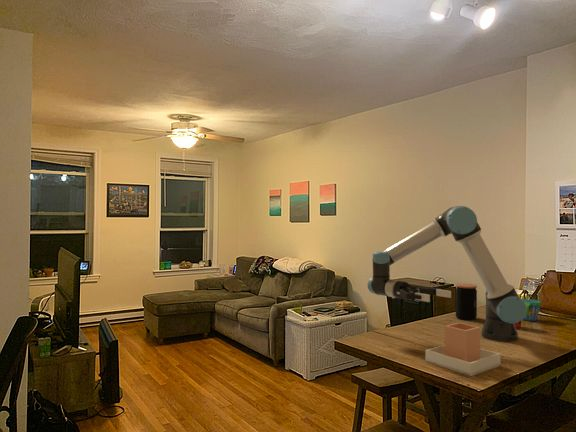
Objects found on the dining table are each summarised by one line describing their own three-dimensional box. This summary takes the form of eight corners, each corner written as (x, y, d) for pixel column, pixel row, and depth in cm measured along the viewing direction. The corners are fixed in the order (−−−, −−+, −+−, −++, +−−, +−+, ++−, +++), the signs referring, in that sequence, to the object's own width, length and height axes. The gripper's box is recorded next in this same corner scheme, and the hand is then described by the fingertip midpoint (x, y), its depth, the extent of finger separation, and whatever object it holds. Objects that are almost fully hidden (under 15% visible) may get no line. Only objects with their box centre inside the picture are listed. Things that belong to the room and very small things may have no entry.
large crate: (455, 352, 181) (455, 341, 181) (500, 365, 166) (500, 353, 166) (425, 361, 170) (425, 349, 170) (470, 376, 155) (470, 363, 155)
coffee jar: (478, 321, 235) (478, 287, 234) (457, 320, 237) (457, 286, 237) (474, 316, 245) (474, 283, 245) (454, 315, 247) (454, 283, 247)
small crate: (458, 355, 175) (458, 322, 174) (480, 361, 167) (480, 327, 167) (444, 359, 169) (444, 325, 169) (465, 366, 162) (466, 330, 162)
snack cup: (523, 315, 247) (524, 297, 247) (545, 319, 240) (545, 300, 240) (513, 320, 236) (513, 301, 236) (535, 324, 229) (535, 304, 229)
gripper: (416, 294, 201) (458, 302, 183) (378, 301, 186) (419, 310, 169) (416, 278, 201) (458, 283, 183) (377, 283, 186) (419, 290, 169)
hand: (440, 296), depth 176 cm, fingers open, 13 cm apart
